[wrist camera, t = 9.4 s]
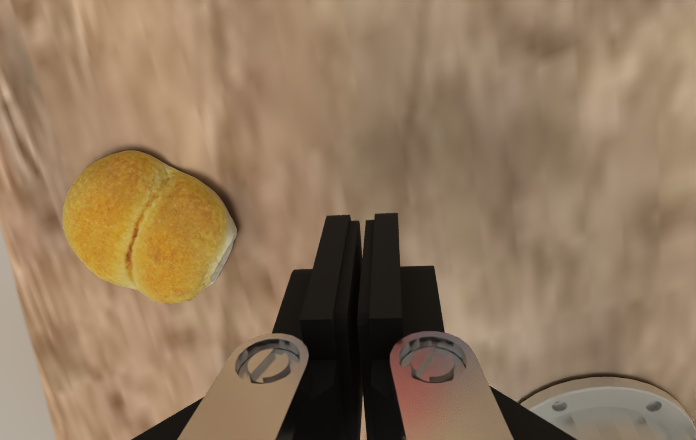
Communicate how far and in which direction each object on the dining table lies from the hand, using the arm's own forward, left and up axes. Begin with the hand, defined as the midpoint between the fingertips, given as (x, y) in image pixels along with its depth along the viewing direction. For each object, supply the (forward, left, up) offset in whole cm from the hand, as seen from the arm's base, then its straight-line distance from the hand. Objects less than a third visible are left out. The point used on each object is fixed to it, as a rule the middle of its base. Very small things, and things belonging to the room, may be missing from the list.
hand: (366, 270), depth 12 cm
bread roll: (+13, +5, -15) cm, 20 cm away
